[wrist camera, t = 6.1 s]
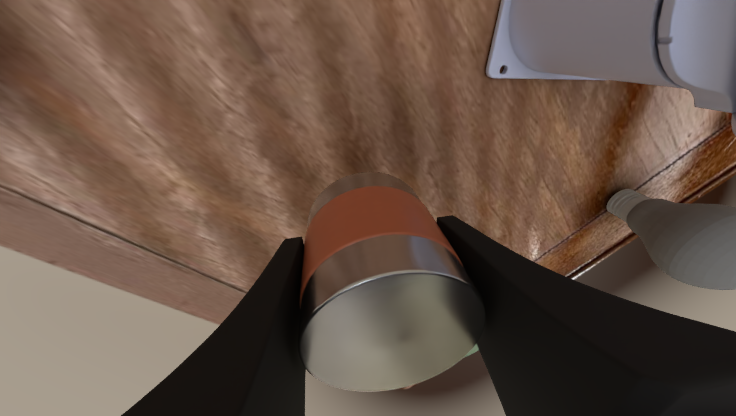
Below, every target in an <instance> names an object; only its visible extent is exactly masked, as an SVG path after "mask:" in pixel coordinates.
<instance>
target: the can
mask: <svg viewBox="0 0 736 416" xmlns="http://www.w3.org/2000/svg"><path fill="white" fill-rule="evenodd" d="M485 324H486V307H485V304H484V301H483V299H482V297H481V295H480V293H479V292H478V290H477V288H476V287H475V285H474V284H473V282H472V281H471V279H470V278H469V276H468V274H467V273H466V271H465V270H464V268H463V265H462V263H461V261H460V259H459V257H458V255H457V254H456V252H455V251H454V249H453V248H452V246H451V245H450V243H449V242H448V240H447V238H446V237H445V235H444V234H443V232H442V231H441V229H440V228H439V226H438V225H437V223H436V222H435V220H434V218H433V217H432V215H431V214H430V212H429V211H428V209H427V208H426V207H425V205H424V204H423V203H422V202H421V201H420V199H419V198H418V196H417V194H416V193H415V192H414V191H413V189H412V188H411V187H410V186H409V185H408V184H406V183H405V182H404V181H402V180H401V179H398V178H396V177H394V176H392V175H389V174H385V173H379V172H361V173H356V174H352V175H349V176H346V177H343V178H341V179H339V180H337V181H335V182H334V183H332V184H331V185H329V186H328V187H327V188H326V189H324V190H323V191H322V192H321V194H320V195H319V196H318V197H317V199H316V200H315V201H314V203H313V205H312V207H311V210H310V213H309V217H308V224H307V232H306V236H305V243H304V254H303V265H302V276H301V287H300V320H299V332H298V353H299V357H300V359H301V361H302V364H303V366H304V367H305V368H306V369H307V371H308V372H309V373H310V374H311V375H312V376H314V377H315V378H317V379H318V380H320V381H321V382H323V383H326V384H328V385H331V386H333V387H336V388H340V389H345V390H351V391H362V392H363V391H364V392H373V391H385V390H392V389H398V388H402V387H407V386H410V385H413V384H417V383H419V382H422V381H425V380H427V379H429V378H431V377H434V376H436V375H438V374H440V373H442V372H444V371H445V370H447V369H449V368H450V367H452V366H453V365H454V364H456V363H457V362H459V361H460V360H461V359H462V358H463V357H465V356H466V355H467V354H468V353H469V352H470V351H471V350H472V348H473V347H474V346H475V345H476V343H477V342H478V340H479V339H480V337H481V335H482V333H483V330H484V327H485Z"/></svg>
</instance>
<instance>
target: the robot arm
mask: <svg viewBox="0 0 736 416" xmlns="http://www.w3.org/2000/svg"><path fill="white" fill-rule="evenodd" d="M502 66H504V70H503V72H502V73H500V68H501V67H502ZM486 74H487V76H488V77H490V78H507V79H568V80H615V81H623V82H632V83H641V84H649V85H658V86H667V87H675V88H684V89H688V90H689V91H690V92H691V93H692V95H693V97H694V105H695V107H699V108H705V109H711V110H717V111H723V112H730V113H733V114H732V121H731V123H732V130H733V133H734V134H735V136H736V0H501V5H500V9H499V13H498V18H497V22H496V27H495V31H494V36H493V40H492V45H491V49H490V54H489V58H488V63H487V67H486ZM437 225H438V226H439V228H440V229H441V231H442V232H443V234H444V235H445V237H446V238H447V240H448V242H449V243H450V245H451V246H452V248H453V249H454V251H455V252H456V254H457V255H458V257H459V259H460V261H461V263H462V265H463V268H464V270H465V271H466V273H467V274H468V276H469V278H470V279H471V281H472V282H473V284H474V285H475V287H476V288H477V290H478V292H479V293H480V295H481V297H482V299H483V301H484V304H485V307H486V324H485V327H484V330H483V333H482V335H481V337H480V339H479V340H478V342H477V343H476V344H477V346H478V348H479V351H480V353H481V355H482V358H483V360H484V362H485V365H486V367H487V369H488V372H489V374H490V376H491V379H492V381H493V384H494V386H495V389H496V391H497V394H498V396H499V399H500V401H501V404H502V406H503V409H504V412H505V414H506V416H736V332H734V331H731V330H728V329H724V328H720V327H717V326H713V325H709V324H705V323H702V322H699V321H695V320H691V319H688V318H684V317H680V316H677V315H673V314H670V313H666V312H663V311H659V310H656V309H653V308H650V307H647V306H644V305H641V304H638V303H635V302H631V301H629V300H626V299H623V298H620V297H617V296H614V295H611V294H608V293H606V292H603V291H600V290H598V289H595V288H592V287H590V286H587V285H585V284H582V283H580V282H577V281H575V280H572V279H570V278H567V277H565V276H563V275H561V274H558V273H556V272H554V271H552V270H550V269H547V268H545V267H543V266H541V265H539V264H537V263H535V262H533V261H531V260H529V259H527V258H525V257H523V256H521V255H519V254H517V253H515V252H514V251H512V250H510V249H508V248H506V247H505V246H503V245H501V244H499V243H498V242H496V241H494V240H492V239H491V238H489V237H487V236H486V235H484V234H483V233H481V232H479V231H478V230H476V229H474V228H473V227H471V226H470V225H468V224H466V223H465V222H463V221H461V220H460V219H458V218H456V217H454V216H445V217H438V218H437ZM303 254H304V244H303V239H302V237H297V238H290V239H285V240H284V241H283V242H282V244H281V245H280V247H279V248H278V250H277V252H276V253H275V255H274V256H273V258H272V259H271V261H270V262H269V264H268V265H267V267H266V268H265V269H264V271H263V272H262V274H261V275H260V276H259V278H258V279H257V281H256V282H255V283H254V285H253V286H252V287H251V289H250V290H249V291H248V292H247V294H246V295H245V296H244V298H243V299H242V300H241V301H240V303H239V304H238V305H237V306H236V308H235V309H234V310H233V311H232V312H231V313H230V315H229V316H228V317H227V318H226V319H225V320H224V321H223V322H222V324H221V325H220V326H219V327H218V328H217V329H216V330H215V331H214V332H213V333H212V334H211V335H210V336H209V338H207V339H206V340H205V341H204V343H202V344H201V345H200V346H199V347H198V348H197V349H196V350H195V351H194V352H193V353H192V354H191V355H190V356H189V357H188V358H187V359H186V360H185V361H184V362H183V363H182V364H180V365H179V366H178V367H177V368H176V369H175V370H174V371H173V372H172V373H171V374H170V375H168V376H167V377H166V378H165V379H164V380H163V381H162V382H160V384H158V385H157V386H156V387H155V388H154V389H152V390H151V391H150V392H149V393H148V394H147V395H145V396H144V397H143V398H142V399H141V400H140V401H138V402H137V403H136V404H135V405H134V406H132V407H131V408H130V409H129V410H128V411H126V412H125V413H124V414H123V415H121V416H305V370H306V368H305V367H304V366H303V364H302V361H301V359H300V357H299V353H298V332H299V320H300V287H301V276H302V265H303Z"/></svg>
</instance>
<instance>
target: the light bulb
mask: <svg viewBox="0 0 736 416" xmlns="http://www.w3.org/2000/svg"><path fill="white" fill-rule="evenodd" d="M607 211H608V212H610V213H611V214H613V215H615V216H617V217H618V218H620V219H622V220H623V221H625V222H626V223H628V226H629V227H630V229H631V230H632V231H633V232H635V233H636V234H637V235H639V236H640V238H641V239H642V241H643V243H644V245H645V247H646V250H647V251H648V253H649V255H650V257H651V259H652V260H653V261H654V263H655V264H656V265H657V266H658V267H659V268H660V269H661V270H662V271H664V272H665V273H666V274H668V275H669V276H671V277H672V278H674V279H676V280H678V281H681V282H683V283H686V284H689V285H692V286H697V287H702V288H708V289H719V290H733V289H736V208H735V207H730V206H725V205H719V204H683V203H674V202H671V201H668V200H664V199H652V198H649V197H647V196H645V195H642V194H640V193H638V192H636V191H634V190H632V189H624V190H621V191H619V192H617V193H616V194H615V195H613V196H612V197H611V199H610V200H609V201H608V203H607Z"/></svg>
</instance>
